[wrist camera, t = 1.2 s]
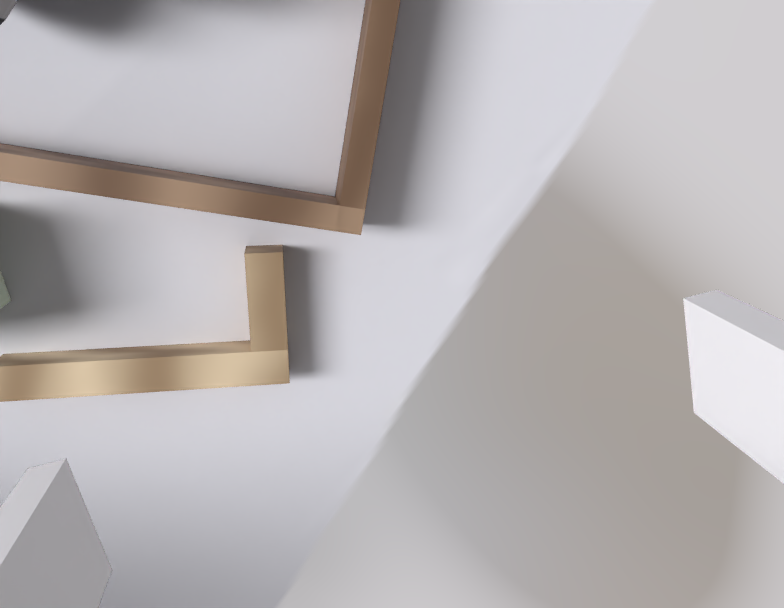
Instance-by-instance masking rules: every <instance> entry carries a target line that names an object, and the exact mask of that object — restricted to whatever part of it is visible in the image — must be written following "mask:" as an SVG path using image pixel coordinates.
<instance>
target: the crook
mask: <svg viewBox="0 0 784 608" xmlns="http://www.w3.org/2000/svg"><path fill="white" fill-rule="evenodd" d="M245 268H246V283H247V298H248V312H249V327H250V341H232V342H214V343H196V344H177V345H159V346H141V347H123V348H105V349H87V350H69V351H51V352H33V353H15V354H3V355H2V356H1V357H0V402H3V401H19V400H35V399H50V398H66V397H82V396H97V395H113V394H129V393H144V392H160V391H175V390H191V389H207V388H222V387H238V386H254V385H269V384H285V383H290V382H289V357H288V338H287V319H286V300H285V281H284V262H283V245H263V246H246V249H245Z"/></svg>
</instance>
